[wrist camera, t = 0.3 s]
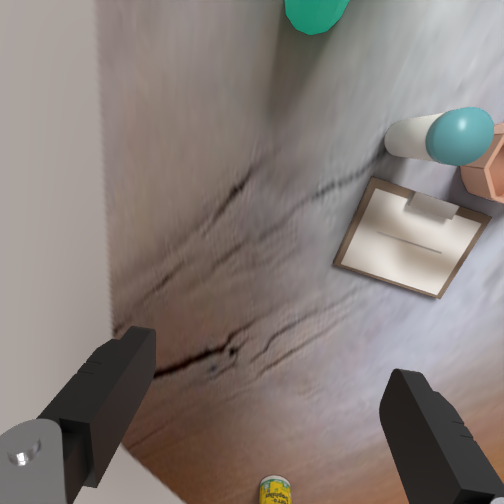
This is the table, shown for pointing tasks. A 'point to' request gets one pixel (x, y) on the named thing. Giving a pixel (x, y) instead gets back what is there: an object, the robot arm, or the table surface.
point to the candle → (314, 14)
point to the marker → (442, 136)
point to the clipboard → (409, 238)
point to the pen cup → (487, 170)
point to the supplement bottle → (275, 490)
